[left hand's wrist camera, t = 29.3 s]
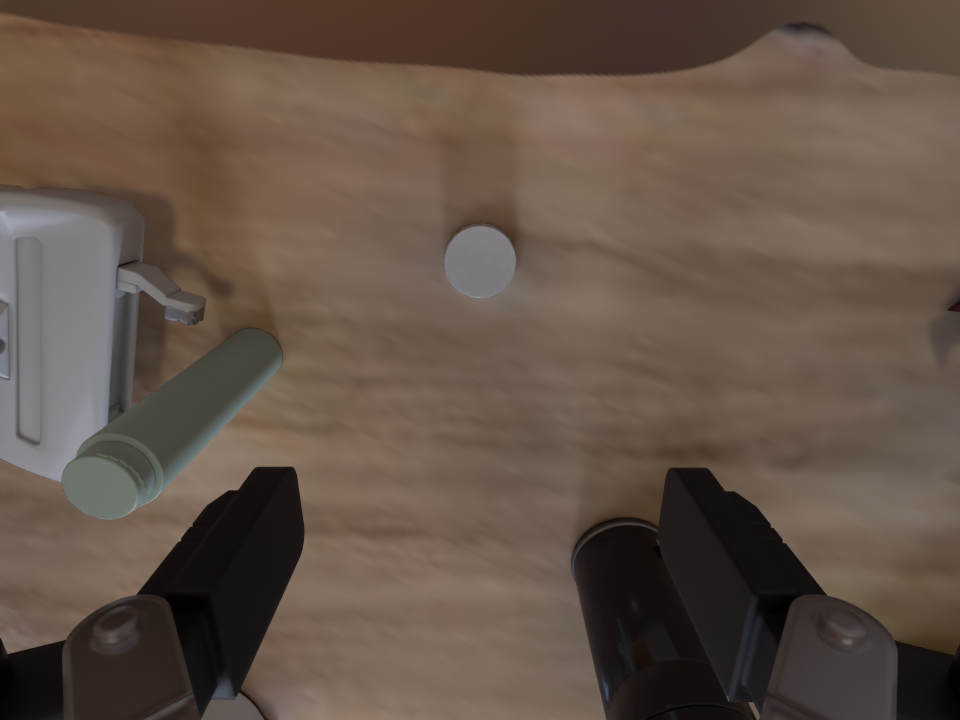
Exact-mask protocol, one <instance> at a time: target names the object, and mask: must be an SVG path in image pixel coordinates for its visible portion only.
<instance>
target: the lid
mask: <svg viewBox="0 0 960 720" xmlns="http://www.w3.org/2000/svg"><path fill="white" fill-rule="evenodd" d="M447 245H448V247H447V250H446V251H445V253H444V255H445V259H444V265H445V271H446V275H447V276H448V278H449V280H450V282H451V283H452V285H453V286H454V287H455V288H456V289H457V290H459V291H460V292H462V293H464V294H466V295H468V296H471V297H477V298H484V297H489V296H493V295H495V294H497V293H499V292H500V291H502V290H503V289H504V288H505V287H506V286H507V285H508V284H509V283H510V281H511V279H512V278H513V275H514V273H515V270H516V259H517V257H516V255H515V251H514V249H515V247H514V245H512V243H511V241H510V237H509V236H508V237H507V235H506V234H505V233H504V232H503V230H502V229H501V230H500V229H499V228H497V227H495V226H493V224H492V225H490V224H485V223H483V222H482V223H476V224H473V223H471V225H468V226H466V227H462V229H460V230H459V231H458V232H457V233H454V235H453V237H452V239H451V240H450V241H448V244H447Z"/></svg>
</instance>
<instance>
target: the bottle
mask: <svg viewBox="0 0 960 720" xmlns="http://www.w3.org/2000/svg"><path fill="white" fill-rule="evenodd" d="M281 363H282V351H281V348H280V346H279V344H278V342H277V341H276V340H275V338H274V337H272V336H271V335H270V334H269V333H267V332H265V331H263V330H260V329H255V328H247V329H243V330H240V331H238V332H237V333H235V334H234V335H233V336H231V337H230V338H228V339H227V340H226V341H224V342H223V343H221V344H220V345H219V346H217V347H216V348H214V349H213V350H212V351H210V352H209V353H207V354H206V355H205V356H203V357H202V358H200V359H199V360H198V361H196V362H195V363H193V364H192V365H191V366H189V367H188V368H186V369H185V370H184V371H182V372H181V373H179V374H178V375H177V376H175V377H174V378H172V379H171V380H170V381H168V382H167V383H165V384H164V385H162V386H161V387H160V388H158V389H157V390H155V391H154V392H153V393H151V394H150V395H148V396H147V397H146V398H144V399H143V400H141V401H140V402H139V403H137V404H136V405H134V406H133V407H132V408H130V409H129V410H127V411H126V412H125V413H123V414H122V415H120V416H119V417H118V418H116V419H115V420H113V421H112V422H111V423H109V424H108V425H106V426H105V427H104V428H102V429H101V430H99V431H98V432H97V433H95V434H94V435H92V436H91V437H90V438H88V439H87V440H85V441H84V442H83V443H82V445H81V446H80V447H79V449H78V451H77V454H76V458H74V459H73V460H72V461H70V462H69V463H68V464H67V465H66V467H65V468H64V470H63V473H62V477H61V484H62V488H63V491H64V493H65V495H66V497H67V498H68V499H69V501H70V502H71V503H72V504H73V505H74V506H75V507H76V508H78V509H79V510H81V511H82V512H84V513H86V514H88V515H90V516H93V517H96V518H101V519H117V518H120V517H123V516H126V515H127V514H129V513H130V512H132V511H134V510H135V509H138V508H139V507H140V506H141V505H145V504H147V503H149V502H151V501H152V500H154V499H155V498H156V497H157V496H158V495H159V494H160V493H161V492H162V491H163V490H164V489H165V488H166V487H167V486H168V485H169V484H170V483H171V482H172V481H173V480H174V478H175V477H176V476H177V475H178V474H179V473H180V472H181V471H182V470H183V469H184V468H185V467H186V466H187V465H188V464H189V463H190V462H191V461H192V460H193V459H194V458H195V457H196V455H197V454H198V453H199V452H200V451H201V450H202V449H203V448H204V447H205V446H206V445H207V444H208V443H209V442H210V441H211V440H212V439H213V438H214V437H215V436H216V435H217V434H218V432H219V431H220V430H221V429H222V428H223V427H224V426H225V425H226V424H227V423H228V422H229V421H230V420H231V419H232V418H233V417H234V416H235V415H236V414H237V413H238V412H239V411H240V409H241V408H242V407H243V406H244V405H245V404H246V403H247V402H248V401H249V400H250V399H251V398H252V397H253V396H254V395H255V394H256V393H257V392H258V391H259V390H260V389H261V388H262V386H263V385H264V384H265V383H266V382H267V381H268V380H269V379H270V378H271V377H272V376H273V375H274V374H275V373H276V372H277V371H278V369H279V368H280V366H281Z"/></svg>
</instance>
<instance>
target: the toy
mask: <svg viewBox="0 0 960 720" xmlns="http://www.w3.org/2000/svg"><path fill="white" fill-rule="evenodd" d="M948 310H949V311H959V312H960V301H959V302H958V303H956V304H955V305H953V306H952V307H951V308H949V309H948Z"/></svg>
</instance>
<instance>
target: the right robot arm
mask: <svg viewBox="0 0 960 720" xmlns="http://www.w3.org/2000/svg"><path fill="white" fill-rule="evenodd" d="M144 232H145V219H144V217H143V216H142V214H141V213H140V212H139V211H138V210H137V209H136V208H135V207H134V206H133V204H132V203H130V202H129V201H126V200H123V199H120V198H116V197H112V196H108V195H104V194H99V193H95V192H89V191H84V190H77V189H69V188H40V189H26V188H23V187H20V186H12V185H2V184H0V459H3V460H5V461H7V462H9V463H11V464H13V465H15V466H17V467H20V468H22V469H25V470H27V471H30V472H32V473H35V474H38V475H41V476H43V477H46V478H49V479H52V480H55V481H58V482H61V477H62V473H63V470H64V468H65V467H66V465H67V464H68V463H69V462H70V461H72V460H73V459H74V458H76V454H77V451H78V449H79V447H80V446H81V445H82V443H83V442H84V441H85V440H87V439H88V438H90V437H91V436H92V435H94V434H95V433H97V432H98V431H99V430H101V429H102V428H104V427H105V426H106V425H108V424H109V423H111V422H112V421H113V420H115V419H116V418H118V417H119V416H120V415H122V414H123V413H125V412H126V411H127V410H129V409H130V408H131V405H132V392H133V378H134V365H135V351H136V338H137V325H138V312H139V299H140V291H142V290H144V291H145V292H146V293H148V294H149V295H150V296H152V297H153V298H154V299H155V300H157V301H158V302H159V303H160V304H162V305H163V306H164V307H165V316H164V319H168V320H171V321H178V320H179V321H180V322H181V323H182V324H186V325H195V324H197V323H198V322H199V321H202V320H203V316H204V309H205V304H206V299H205V298H204V297H202V296H198V295H195V294H191V293H188V292H184V291H181V288H180V287H179V286H178V285H177V284H175V283H174V282H173V281H172V280H171V279H170V278H169V277H168V276H167V275H166V274H165V273H164V272H162V271H161V270H160V269H159V268H158V267H157V266H153V265H150V264H146V263H143V262H142V259H143V245H144ZM201 720H265V719H264V718H263V717H262V715H261V714H260V712H259V711H258V709H257V708H256V707H255V706H254V704H253V703H252V702H251V701H250V700H248V699H247V698H246V697H245V696H243V695H242V694H241V693H238V695H237V697H236V700H210V702H209V704H208V706H207V708H206V710H205V712H204V714H203V716H202V718H201Z"/></svg>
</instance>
